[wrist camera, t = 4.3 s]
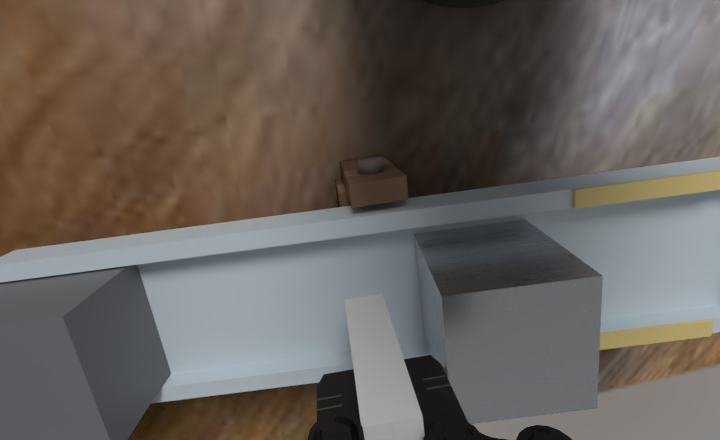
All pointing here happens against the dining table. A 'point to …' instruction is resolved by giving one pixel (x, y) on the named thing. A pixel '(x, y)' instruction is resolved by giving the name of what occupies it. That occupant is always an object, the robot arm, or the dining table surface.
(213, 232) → the beam
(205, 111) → the dining table surface
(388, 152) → the dining table surface
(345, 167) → the fulcrum
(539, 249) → the block
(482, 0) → the vase
